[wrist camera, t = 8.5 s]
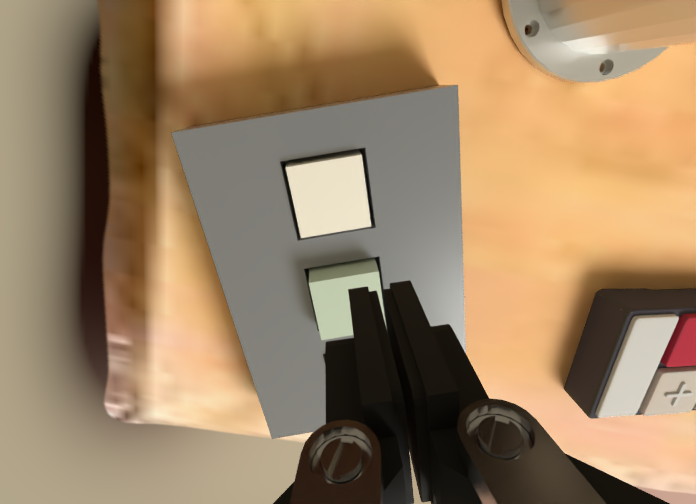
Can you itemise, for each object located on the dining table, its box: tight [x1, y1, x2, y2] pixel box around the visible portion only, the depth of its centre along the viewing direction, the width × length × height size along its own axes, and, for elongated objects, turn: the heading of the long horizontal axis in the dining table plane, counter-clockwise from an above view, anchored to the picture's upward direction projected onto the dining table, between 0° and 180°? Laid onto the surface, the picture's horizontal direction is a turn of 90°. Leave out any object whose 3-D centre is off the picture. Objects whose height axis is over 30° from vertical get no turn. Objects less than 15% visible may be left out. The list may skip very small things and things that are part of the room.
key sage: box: [309, 257, 386, 340], centre depth 25 cm, size 4×4×2 cm
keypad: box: [171, 85, 466, 439], centre depth 27 cm, size 24×16×4 cm, turn 9°
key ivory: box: [286, 149, 371, 238], centre depth 23 cm, size 4×4×2 cm
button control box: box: [564, 289, 696, 418], centre depth 32 cm, size 11×4×15 cm
